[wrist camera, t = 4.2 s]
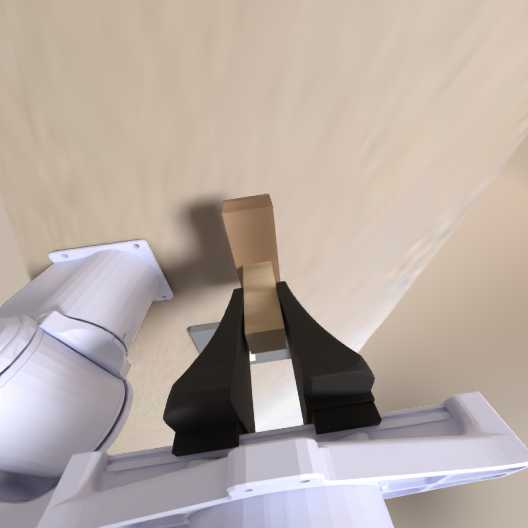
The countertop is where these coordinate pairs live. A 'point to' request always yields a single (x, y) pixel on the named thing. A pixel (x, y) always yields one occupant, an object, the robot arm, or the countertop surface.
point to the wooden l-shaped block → (256, 269)
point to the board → (205, 333)
